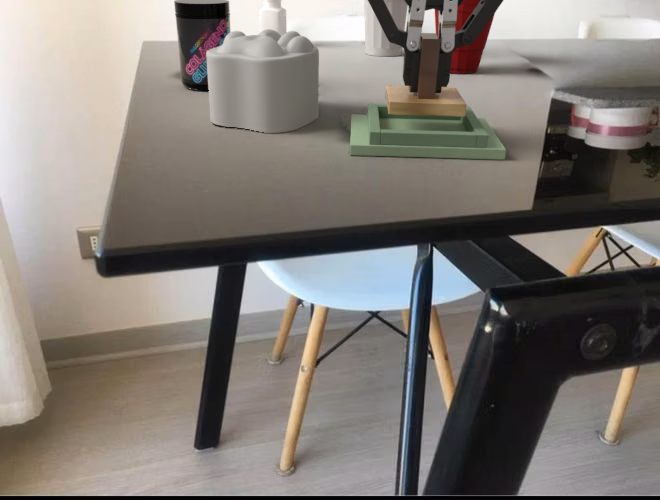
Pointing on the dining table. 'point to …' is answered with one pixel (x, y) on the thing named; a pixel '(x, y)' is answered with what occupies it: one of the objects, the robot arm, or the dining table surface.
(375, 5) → the robot arm
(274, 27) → the pepper shaker
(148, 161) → the dining table surface
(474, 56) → the plastic cup
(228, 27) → the supplement container
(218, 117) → the lumpy-topped squat cylinder
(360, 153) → the base pad
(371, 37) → the cup
